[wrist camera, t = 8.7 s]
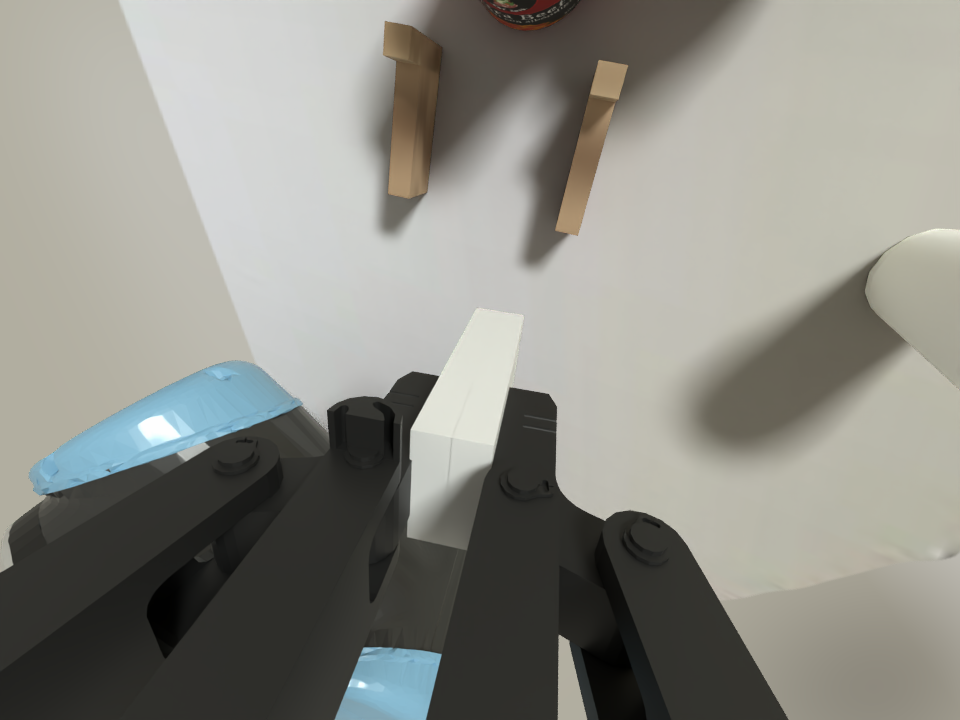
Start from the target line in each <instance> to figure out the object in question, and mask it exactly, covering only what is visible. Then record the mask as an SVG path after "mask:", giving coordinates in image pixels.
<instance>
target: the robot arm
mask: <svg viewBox="0 0 960 720" xmlns="http://www.w3.org/2000/svg"><path fill="white" fill-rule="evenodd" d="M523 321H524V315H520V314H513V313H507V312H501V311H494V310H488V309H482V308H477V309H476V310H475V312H474V314H473V316H472V318H471V320H470V321H469V323H468V325H467V327H466V329H465V331H464V332H463V334H462V336H461V338H460V340H459V342H458V343H457V345H456V347H455V349H454V351H453V353H452V354H451V356H450V358H449V360H448V362H447V364H446V366H445V367H444V369H443V371H442V373H441V375H440V376H436V375H430V374H424V373H419V372H413V371H412V372H411V373H409V374H407V375H405V376H403V377H402V378H400V379H398V380H397V382H396V383H395V384H394V386H393V387H392V389H391V390H390V393H388V394H387V396H386V397H385V398H384V399H382V398H379V397H366V396H363V397H356V398H349V399H346V400H344V401H341V402H338V403H336V404H335V405H333V406H332V407H331V408H329V409H328V410H327V416H328V429H329V433H328V432H327V431H326V430H325V429H324V428H323V427H322V426H321V425H320V424H319V423H318V422H317V421H316V420H315V419H314V418H313V417H312V416H311V415H310V414H309V413H308V412H307V411H306V410H305V409H304V408H303V407H302V406H301V405H302V404H303V403H302V402H301V401H300V400H299V399H298V398H293V397H292V396H291V395H290V394H289V393H288V392H287V391H285V390H284V389H283V388H282V387H281V386H280V385H279V384H278V383H277V382H276V381H275V380H273V379H272V378H271V377H270V376H269V375H268V374H267V373H266V372H265V371H264V370H263V369H261V368H260V367H258V366H257V365H255V364H252V363H249V362H245V361H228V362H224V363H220V364H216V365H213V366H210V367H208V368H205V369H203V370H200V371H198V372H196V373H194V374H192V375H190V376H187V377H185V378H183V379H181V380H179V381H177V382H175V383H173V384H171V385H169V386H166V387H164V388H162V389H160V390H158V391H157V392H155V393H153V394H151V395H149V396H147V397H145V398H143V399H141V400H139V401H137V402H135V403H134V404H132V405H130V406H128V407H126V408H124V409H123V410H121V411H119V412H117V413H115V414H113V415H112V416H110V417H108V418H106V419H105V420H103V421H101V422H99V423H97V424H96V425H94V426H92V427H91V428H89V429H87V430H85V431H84V432H82V433H81V434H79V435H77V436H75V437H74V438H72V439H71V440H69V441H68V442H66V443H65V444H63V445H62V446H60V447H59V448H58V449H57V450H56V451H55V452H53V453H52V454H50V455H49V456H47V457H46V458H44V459H42V460H40V461H39V462H37V463H36V464H35V465H34V466H33V467H32V468H31V470H30V472H29V478H30V480H31V482H32V483H33V485H34V488H33V491H35V492H36V493H37V494H39V495H46V496H47V497H46V498H45V499H44V500H43V501H42V502H40V503H39V504H37V505H36V506H35V507H33V508H32V509H31V510H29V511H28V512H27V513H25V514H24V515H23V516H21V517H20V518H19V519H18V520H16V521H15V522H14V523H13V524H11V525H10V526H9V527H8V528H7V530H6V532H5V533H4V535H3V538H2V542H1V553H0V720H557V719H558V716H557V715H558V636H559V635H561V636H563V637H564V638H566V639H568V640H569V641H570V648H571V652H572V657H573V661H574V665H575V669H576V673H577V678H578V682H579V686H580V690H581V695H582V699H583V703H584V707H585V711H586V715H587V720H788V718H787V717H786V714H785V713H784V711H783V709H782V708H781V706H780V704H779V702H778V701H777V699H776V697H775V696H774V694H773V692H772V690H771V689H770V687H769V685H768V684H767V682H766V680H765V678H764V677H763V675H762V673H761V672H760V670H759V668H758V666H757V665H756V663H755V661H754V660H753V658H752V656H751V655H750V653H749V651H748V649H747V648H746V646H745V644H744V642H743V641H742V639H741V637H740V635H739V634H738V632H737V630H736V629H735V627H734V625H733V623H732V622H731V620H730V618H729V617H728V615H727V613H726V612H725V610H724V608H723V606H722V605H721V603H720V601H719V599H718V598H717V596H716V594H715V592H714V591H713V589H712V587H711V586H710V584H709V582H708V580H707V579H706V577H705V575H704V574H703V572H702V570H701V568H700V567H699V565H698V563H697V562H696V560H695V558H694V556H693V555H692V553H691V551H690V550H689V548H688V546H687V544H686V543H685V542H684V541H683V539H682V538H681V537H680V536H679V534H678V533H677V532H676V531H675V530H674V529H672V528H671V527H670V526H668V525H667V524H666V523H664V522H663V521H662V520H660V519H657V518H655V517H653V516H651V515H648V514H646V513H641V512H636V511H623V512H616V513H615V514H613V515H612V516H610V517H609V518H607V519H606V521H604V520H602V519H600V518H598V517H596V516H593V515H591V514H589V513H587V512H585V511H583V510H582V509H580V508H578V507H576V506H575V505H574V504H573V503H571V502H570V501H569V500H568V499H567V498H566V497H565V496H564V495H563V493H562V492H561V491H560V489H559V487H558V484H557V482H556V476H555V470H556V425H557V422H556V420H557V406H556V405H555V403H554V401H553V400H552V398H551V397H550V395H549V394H545V393H539V392H534V391H528V390H523V389H517V388H513V383H514V377H515V371H516V365H517V358H518V352H519V346H520V340H521V333H522V327H523Z"/></svg>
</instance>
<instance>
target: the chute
mask: <svg viewBox="0 0 960 720" xmlns="http://www.w3.org/2000/svg"><path fill="white" fill-rule="evenodd" d="M383 55H384V56H386V57H389V58H391V59H393V60H395V61H396V76H395V92H394V108H393V124H392V139H391V155H390V171H389V186H388V194H390V195H395V196H399V197H404V198H408V199H410V198H412V197H415V196H418V195H421V194H424V193H427V189H428V179H429V170H430V161H431V151H432V142H433V132H434V123H435V113H436V104H437V94H438V85H439V75H440V66H441V57H442V47H441V46H439V45H438V44H437V43H435V42H434V41H432V40H431V39H429V38H428V37H427V36H425V35H424V34H422V33H421V32H419V31H418V30H417V29H415V28H414V27H412V26H409V25H403V24H398V23H392V22H387V21H385V29H384V49H383ZM627 68H628V65H625V64H619V63H614V62H608V61H602V60H599V61H598V64H597V68H596V71H595V74H594V78H593V82H592V86H591V90H590V94H589V98H588V102H587V106H586V110H585V114H584V118H583V121H582V125H581V129H580V133H579V137H578V141H577V145H576V149H575V153H574V157H573V161H572V165H571V169H570V173H569V177H568V180H567V184H566V188H565V192H564V196H563V200H562V204H561V208H560V212H559V216H558V220H557V224H556V229H555V231H559V232H564V233H568V234H573V235H577V236H578V233H579V230H580V226H581V223H582V219H583V215H584V212H585V208H586V205H587V201H588V198H589V194H590V191H591V187H592V184H593V180H594V176H595V173H596V169H597V166H598V162H599V159H600V155H601V152H602V148H603V145H604V141H605V137H606V134H607V130H608V127H609V123H610V120H611V116H612V113H613V109H614V105H615V102H616V101H617V100H618V99H619V96H620V93H621V89H622V85H623V82H624V78H625V75H626V71H627Z"/></svg>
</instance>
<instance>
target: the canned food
mask: <svg viewBox="0 0 960 720" xmlns="http://www.w3.org/2000/svg"><path fill="white" fill-rule="evenodd" d="M480 1H481V2H482V3H483V5H484V6H485V7H486V9H487V10H488V11H489V13H490V14H491V15H492V16H493V17H495V18H496V19H497V20H498V21H499V22H500V23H502V24H504V25H506V26H508V27H510V28H513V29H518V30H523V31H527V30H538V29H541V28H544V27H548V26H550V25H552V24H554V23H555V22H557V21H559V20H561V19H562V18H563V17H564V16H566V15H567V14H568V13H569V12H570V11H572V10H573V9H574V8H575V6H576V5H577V4H578V3H579V2H580V0H480Z"/></svg>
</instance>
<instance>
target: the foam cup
mask: <svg viewBox="0 0 960 720" xmlns="http://www.w3.org/2000/svg"><path fill="white" fill-rule="evenodd" d="M865 294H866V297H867V299H868V302H869V305H870V307H871V309H872V310H874V311H875V313H876V314H877V315H878V316H879V317H880V318H881V319H883V320H884V321H885V322H886V323H887V324H888V325H889V326H890V327H891V328H892V329H893V330H895V331H896V332H897V333H898V334H899V335H900V336H901V337H902V338H903V339H904V340H905V341H907V342H908V343H909V344H910V345H911V346H912V347H913V348H914V349H915V350H916V351H917V352H919V353H920V354H921V355H922V356H923V357H924V358H925V359H926V360H927V361H928V362H929V363H931V364H932V365H933V366H934V367H935V368H936V369H937V370H938V371H939V372H940V373H941V374H943V375H944V376H945V377H946V378H947V379H948V380H949V381H950V382H951V383H952V384H954V385H955V386H956V387H957V388H958V389H959V390H960V230H954V229H933V230H929V231H926V232H922V233H919V234H915V235H912V236H908V237H907V238H905V239H904V240H902V241H901V242H899V243H898V244H896V245H895V246H893V247H892V248H890V249H889V250H887V251H886V252H884V254H883V255H882V256H881V258H880V259H879V260H878V261H877V263H876V264H875V265H874V267H873V268H872V269H871V270H870V272H869V275H868V280H867V284H866V288H865Z"/></svg>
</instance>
